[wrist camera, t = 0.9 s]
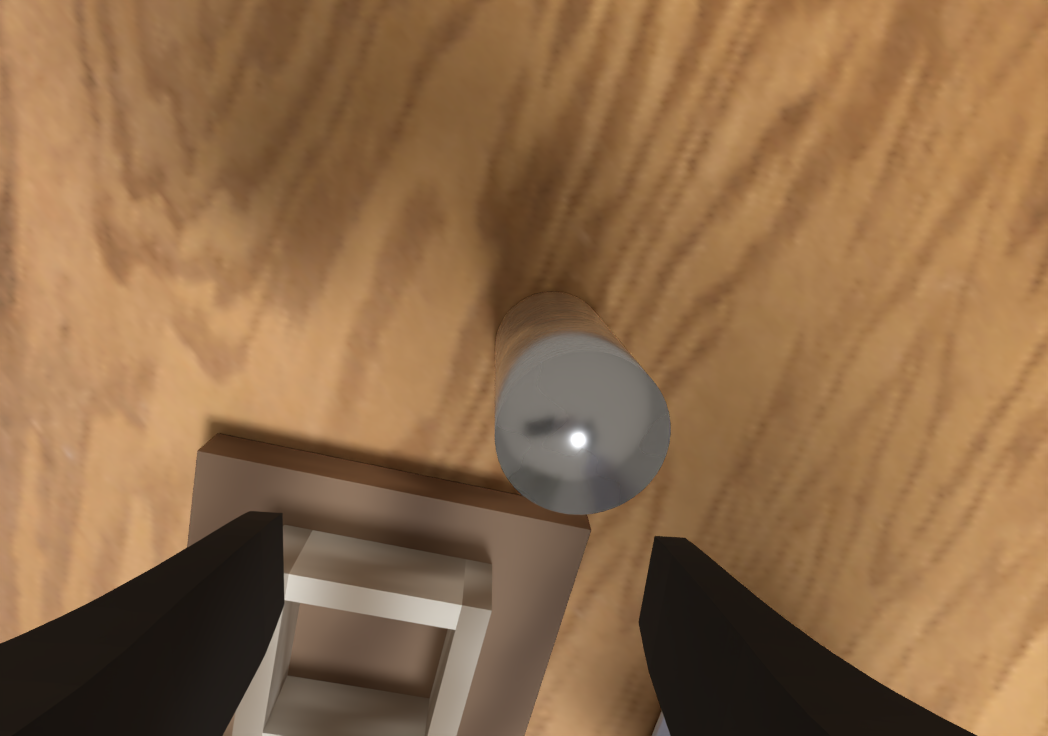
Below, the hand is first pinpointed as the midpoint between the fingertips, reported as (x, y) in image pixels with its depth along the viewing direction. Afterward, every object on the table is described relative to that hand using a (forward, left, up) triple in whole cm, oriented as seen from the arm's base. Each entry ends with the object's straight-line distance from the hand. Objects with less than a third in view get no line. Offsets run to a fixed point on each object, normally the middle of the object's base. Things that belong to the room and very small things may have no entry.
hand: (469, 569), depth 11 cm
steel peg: (-2, -2, -10) cm, 11 cm away
